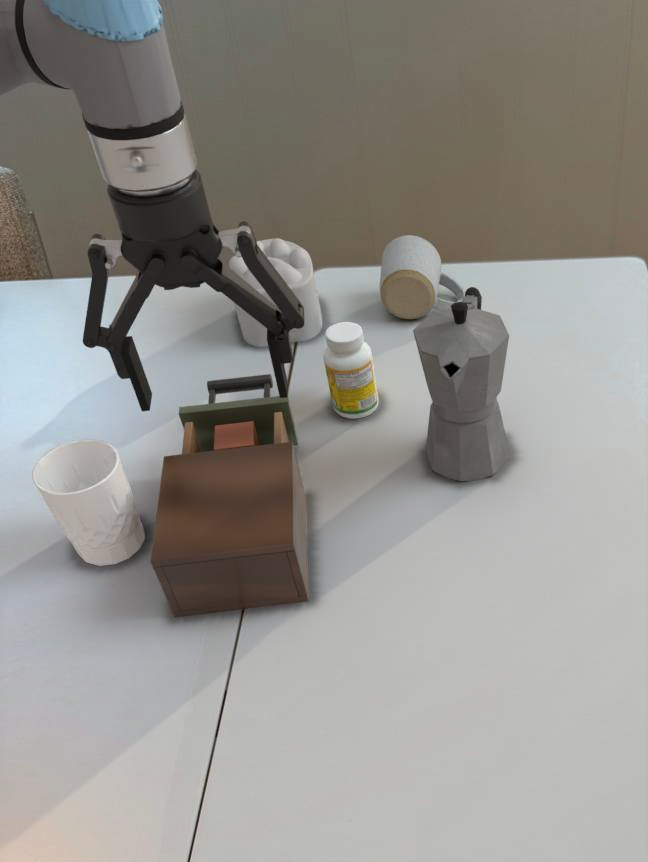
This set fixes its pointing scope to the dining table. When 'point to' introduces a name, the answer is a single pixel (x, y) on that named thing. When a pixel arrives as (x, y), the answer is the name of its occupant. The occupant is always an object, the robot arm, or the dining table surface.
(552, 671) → the dining table surface
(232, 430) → the block
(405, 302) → the ceramic mug
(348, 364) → the supplement bottle
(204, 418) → the drawer
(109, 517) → the white cup
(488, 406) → the coffeepot
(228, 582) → the cabinet
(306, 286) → the lumpy-topped squat cylinder
